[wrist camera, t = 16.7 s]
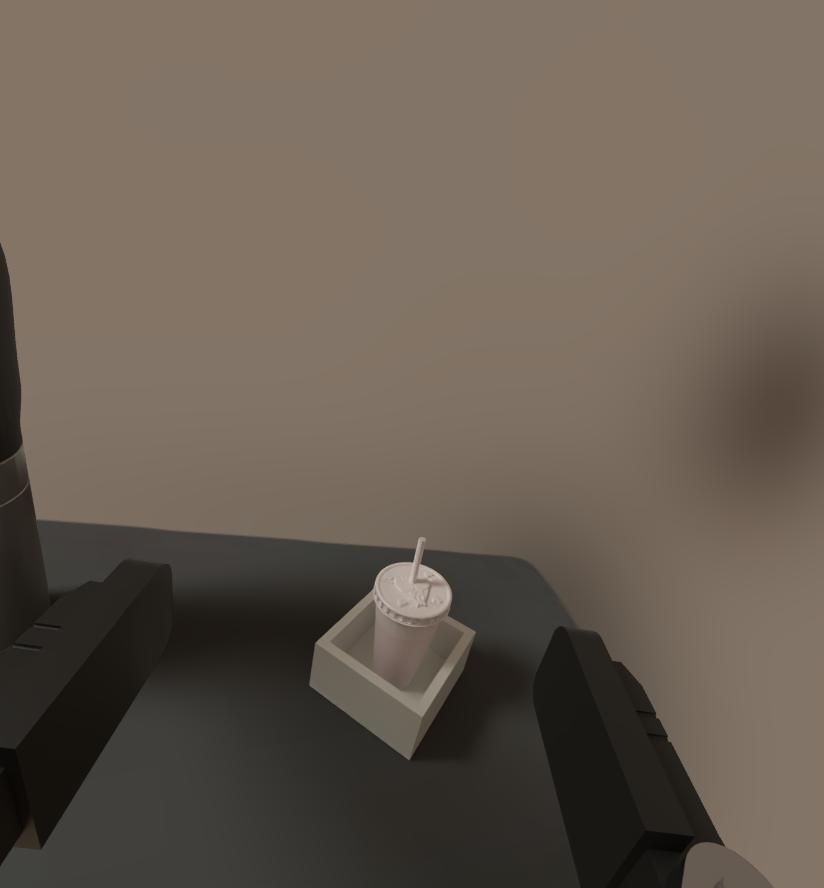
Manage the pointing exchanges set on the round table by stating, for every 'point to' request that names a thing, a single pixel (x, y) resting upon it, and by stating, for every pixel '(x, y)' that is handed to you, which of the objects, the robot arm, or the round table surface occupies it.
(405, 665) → the smoothie
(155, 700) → the round table surface
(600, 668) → the robot arm
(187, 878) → the round table surface
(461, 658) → the box
